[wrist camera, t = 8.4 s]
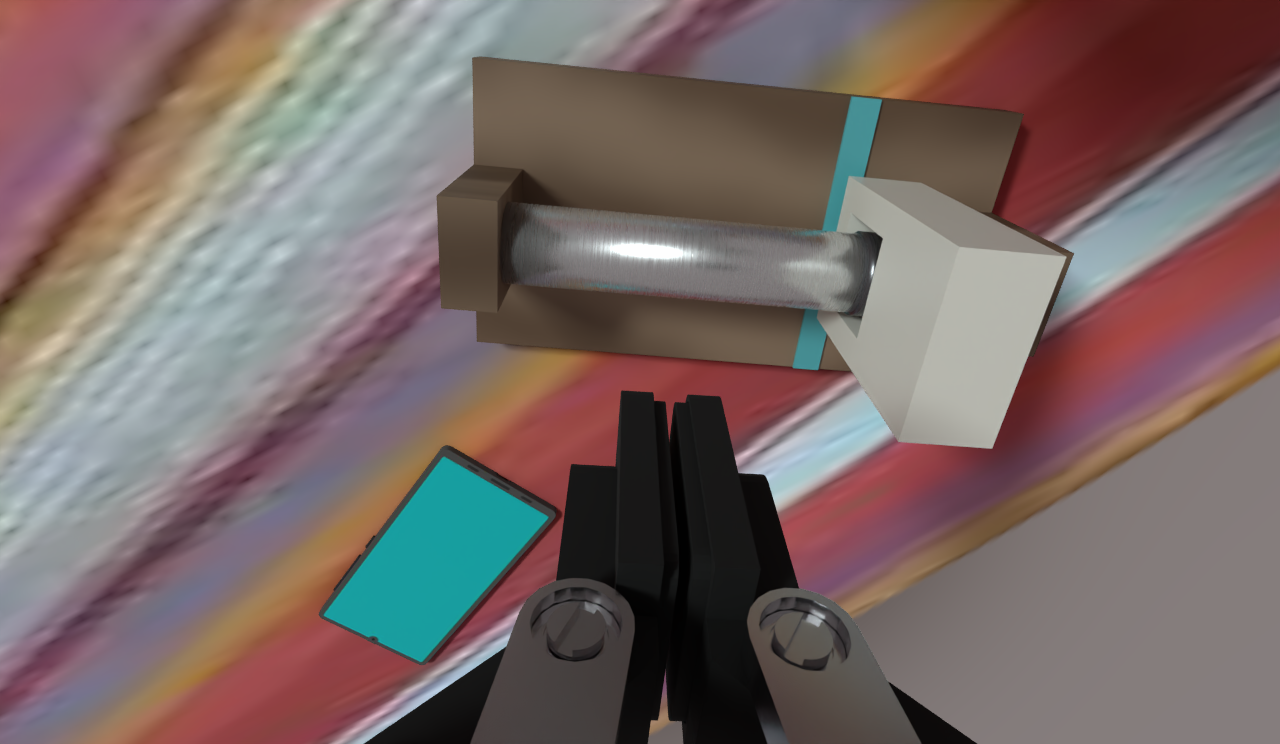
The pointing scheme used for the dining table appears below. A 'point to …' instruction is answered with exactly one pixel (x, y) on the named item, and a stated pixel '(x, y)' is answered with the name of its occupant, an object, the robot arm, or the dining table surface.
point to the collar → (941, 312)
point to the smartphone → (437, 556)
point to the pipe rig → (688, 209)
